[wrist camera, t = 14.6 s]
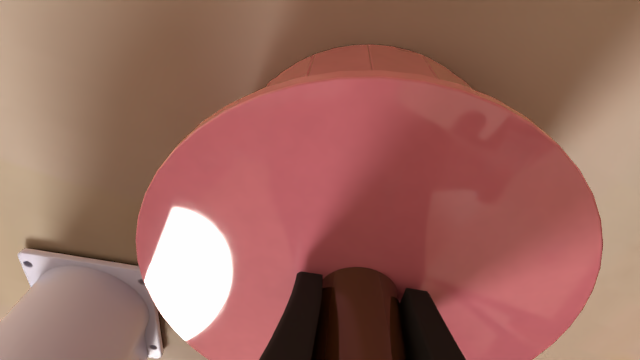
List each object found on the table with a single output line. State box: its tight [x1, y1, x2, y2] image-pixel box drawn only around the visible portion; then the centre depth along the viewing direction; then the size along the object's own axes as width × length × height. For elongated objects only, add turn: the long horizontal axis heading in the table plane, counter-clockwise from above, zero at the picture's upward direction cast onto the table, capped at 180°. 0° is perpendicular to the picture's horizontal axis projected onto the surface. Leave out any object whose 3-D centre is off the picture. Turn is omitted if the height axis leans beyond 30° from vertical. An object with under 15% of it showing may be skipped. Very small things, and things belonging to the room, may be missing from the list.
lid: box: [136, 70, 603, 360], centre depth 9 cm, size 13×13×6 cm
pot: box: [265, 44, 471, 88], centre depth 16 cm, size 12×12×4 cm
